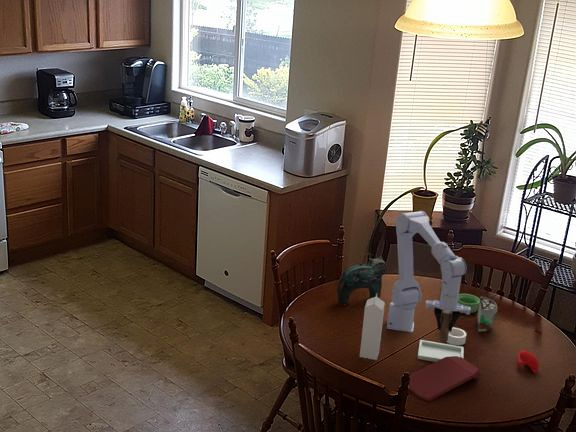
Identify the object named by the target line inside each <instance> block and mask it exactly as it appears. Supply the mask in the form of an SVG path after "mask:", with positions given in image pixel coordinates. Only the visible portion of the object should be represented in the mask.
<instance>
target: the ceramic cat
mask: <svg viewBox="0 0 576 432" xmlns="http://www.w3.org/2000/svg"><path fill="white" fill-rule="evenodd" d="M367 256H371V258H370V257H368V260H369V261H368V263H367V264H365V263H359V262H355V263H351V264H348V265H347V266H346V267H345V268H344V270H343V272H342V273H341V275H340V278H339V279H338V282H337V288H336V289H337V303H338V304H339V305H340V306H341V305H344V304H348V305H349V299H350V296H351V294H352V293H353V292H354V291H356V290H359V289H368V293H369V299H371V298H374V297H376V294H377V297H378V298H379V299H381V292H382V284H383V283H382V281H383V279H382V277H383V276H384V275H385V273H386V271H387V263H386V262H385V261H384V260H383V256H382V255H380V256H379V257H377V258H374V257H373V254H372V253H366V254H364V256H363V258H366V257H367ZM344 306H345V305H344Z"/></svg>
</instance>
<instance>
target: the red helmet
mask: <svg viewBox="0 0 576 432" xmlns="http://www.w3.org/2000/svg"><path fill="white" fill-rule="evenodd" d="M515 360H516V365H517V368H518V370H521V366H523V365H524V366H527V367H529V368H530V369H531V372H533V374H537V373H538V371H539V361H538V359H537V357H536V356H535V354H534V353H532V352H530V351H528V350H524V349H523V350H520V351H519V353H518V354H517V356H516V359H515Z"/></svg>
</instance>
